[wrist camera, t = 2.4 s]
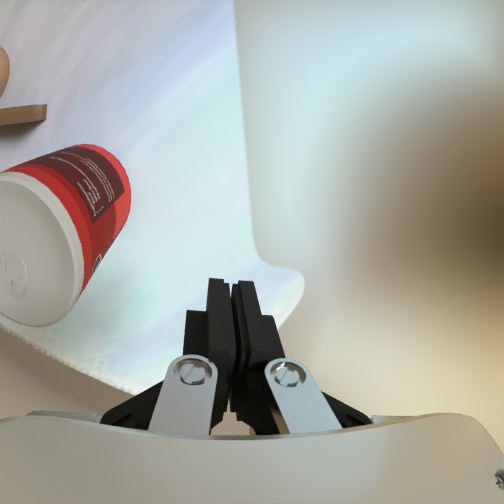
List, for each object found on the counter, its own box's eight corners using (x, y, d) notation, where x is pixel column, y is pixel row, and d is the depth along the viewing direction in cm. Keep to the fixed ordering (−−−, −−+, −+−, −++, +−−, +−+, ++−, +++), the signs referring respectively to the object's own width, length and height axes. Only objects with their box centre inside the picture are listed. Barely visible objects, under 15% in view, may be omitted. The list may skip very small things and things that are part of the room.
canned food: (53, 242, 22) (-16, 321, 12) (43, 146, 19) (-52, 182, 9) (137, 243, 23) (94, 336, 13) (134, 139, 20) (67, 167, 10)
